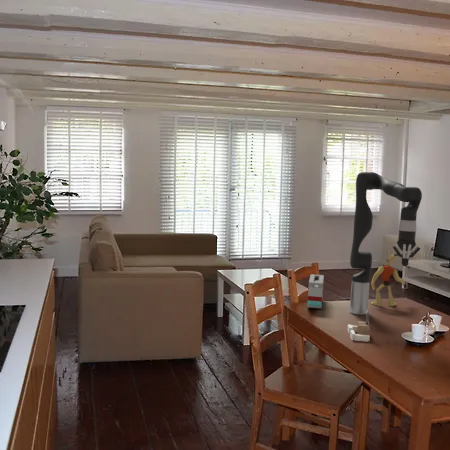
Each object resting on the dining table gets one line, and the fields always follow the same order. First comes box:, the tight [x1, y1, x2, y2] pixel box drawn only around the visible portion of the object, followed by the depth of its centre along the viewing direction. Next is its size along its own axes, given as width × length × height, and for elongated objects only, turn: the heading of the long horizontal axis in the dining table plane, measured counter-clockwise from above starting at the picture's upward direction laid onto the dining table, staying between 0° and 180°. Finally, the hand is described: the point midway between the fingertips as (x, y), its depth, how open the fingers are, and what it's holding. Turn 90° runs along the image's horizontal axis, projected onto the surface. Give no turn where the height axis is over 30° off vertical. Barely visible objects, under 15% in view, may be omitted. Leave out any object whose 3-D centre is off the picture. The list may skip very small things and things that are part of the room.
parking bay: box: [347, 324, 371, 342], centre depth 250 cm, size 15×8×3 cm, turn 174°
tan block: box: [356, 310, 371, 336], centre depth 249 cm, size 7×5×12 cm
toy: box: [370, 253, 407, 307], centre depth 308 cm, size 23×9×30 cm, turn 100°
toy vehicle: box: [306, 273, 325, 309], centre depth 306 cm, size 8×30×15 cm, turn 169°
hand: (404, 265), depth 255 cm, fingers closed
